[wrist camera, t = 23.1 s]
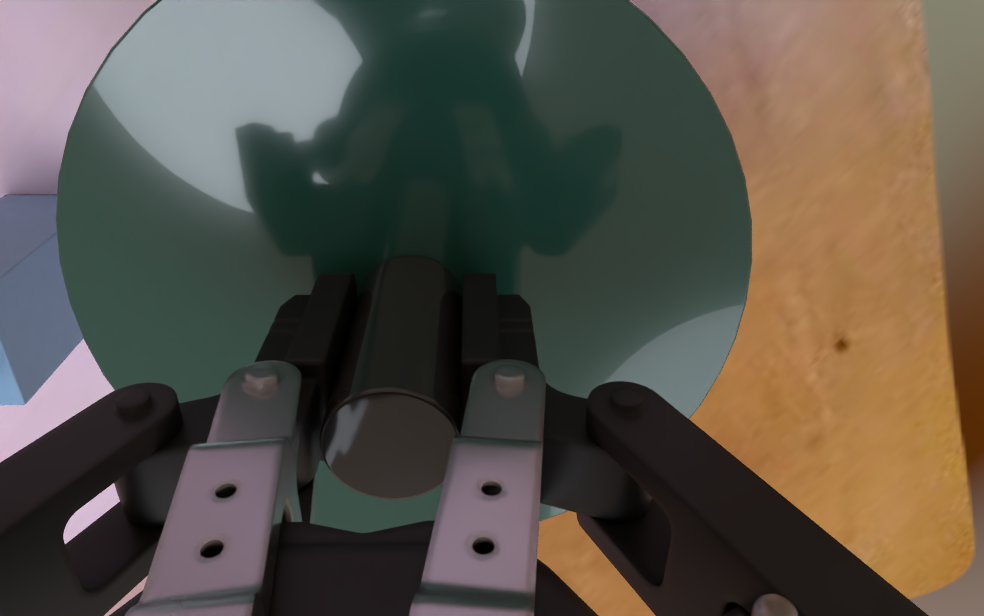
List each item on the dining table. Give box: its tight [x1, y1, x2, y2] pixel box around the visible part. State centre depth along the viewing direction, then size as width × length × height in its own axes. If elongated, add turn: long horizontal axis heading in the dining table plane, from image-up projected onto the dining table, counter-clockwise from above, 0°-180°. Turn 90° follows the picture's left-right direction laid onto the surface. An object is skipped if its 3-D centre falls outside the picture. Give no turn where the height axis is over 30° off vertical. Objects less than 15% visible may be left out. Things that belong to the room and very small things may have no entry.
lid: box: [56, 0, 752, 533], centre depth 15 cm, size 15×15×6 cm
